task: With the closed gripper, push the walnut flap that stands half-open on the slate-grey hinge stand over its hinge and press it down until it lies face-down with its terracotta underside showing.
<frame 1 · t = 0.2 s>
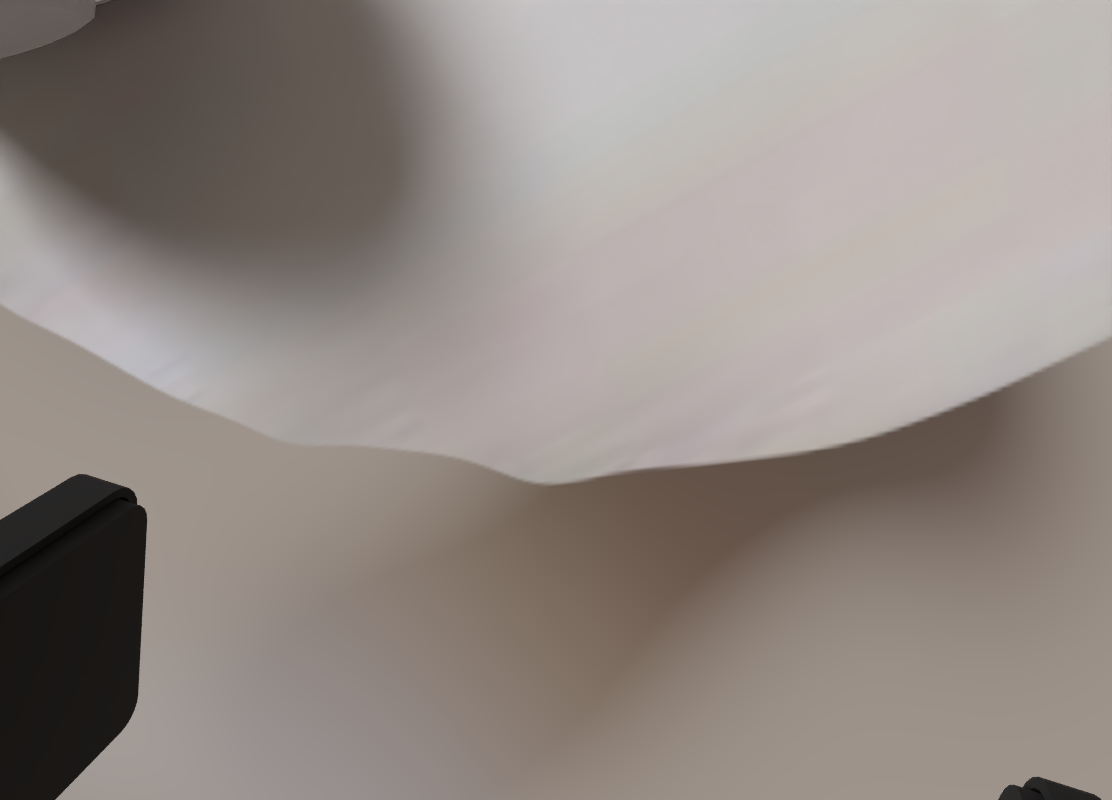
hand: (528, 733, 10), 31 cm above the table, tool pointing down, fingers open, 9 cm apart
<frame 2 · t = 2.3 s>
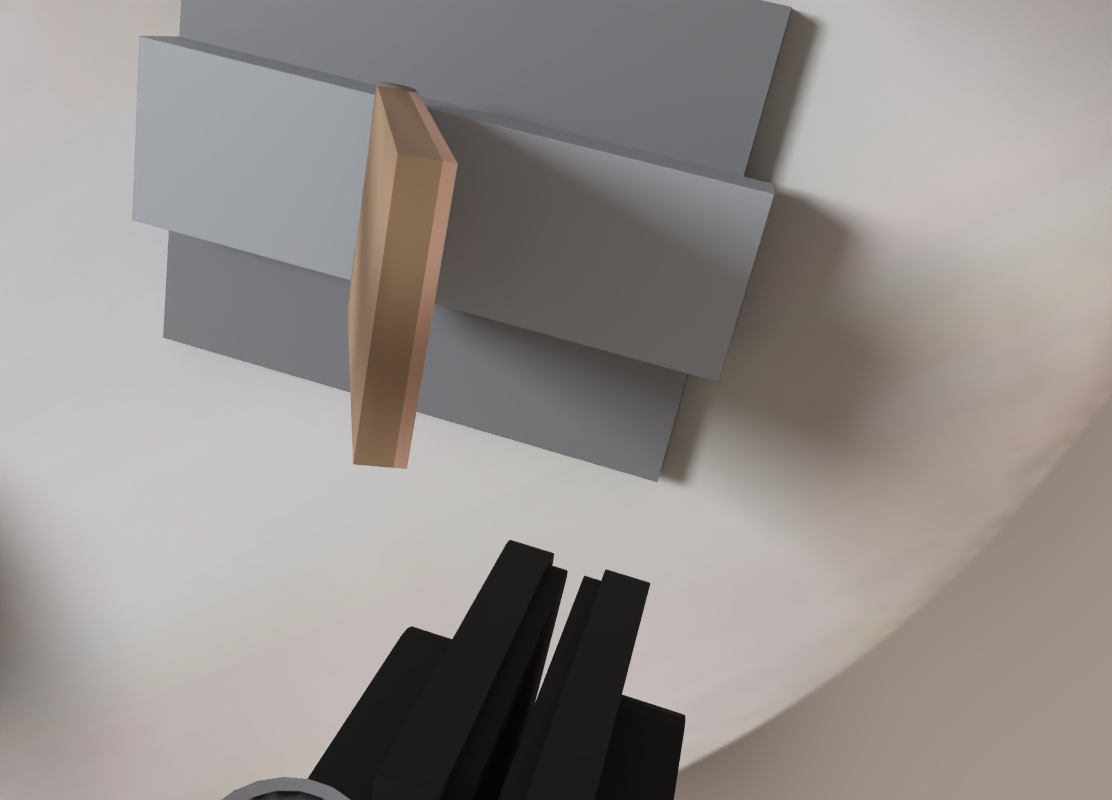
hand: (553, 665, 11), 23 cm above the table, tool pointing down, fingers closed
flap: (389, 248, 25), point 9 cm above the table, hinge at 65.0°
stand: (425, 184, 34), on the table
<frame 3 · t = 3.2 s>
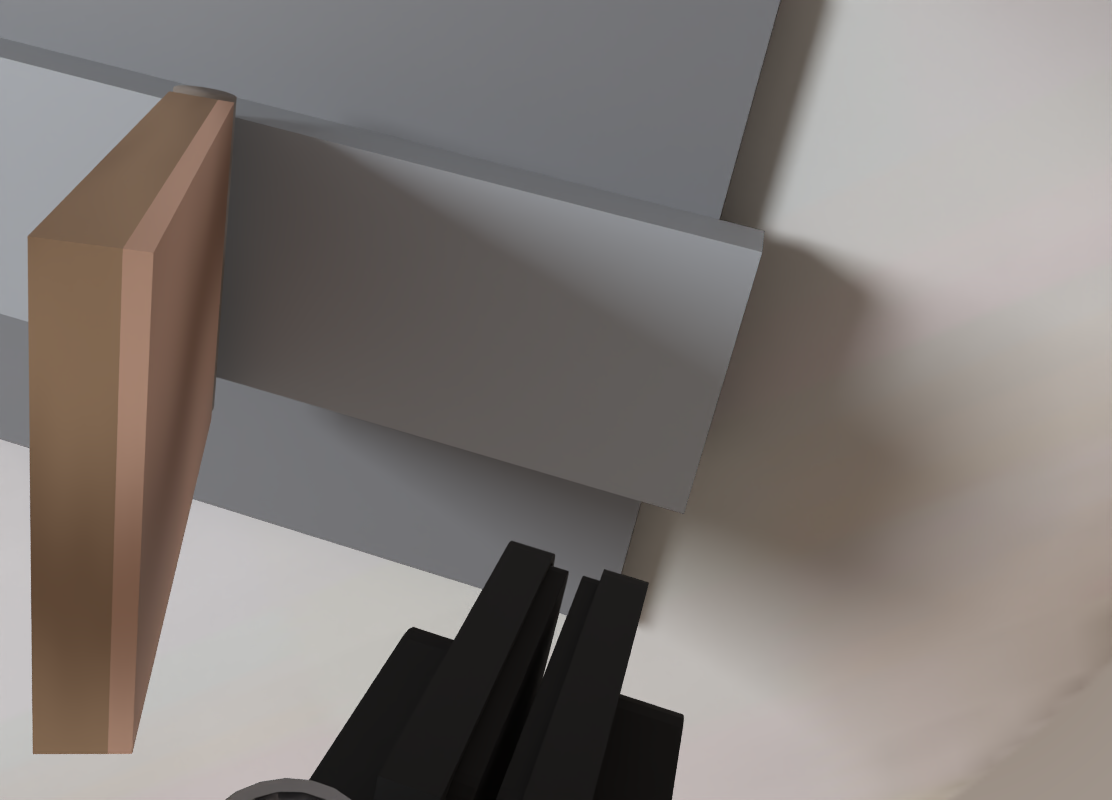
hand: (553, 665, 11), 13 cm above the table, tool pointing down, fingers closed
flap: (159, 348, 16), point 9 cm above the table, hinge at 65.0°
stand: (283, 225, 24), on the table
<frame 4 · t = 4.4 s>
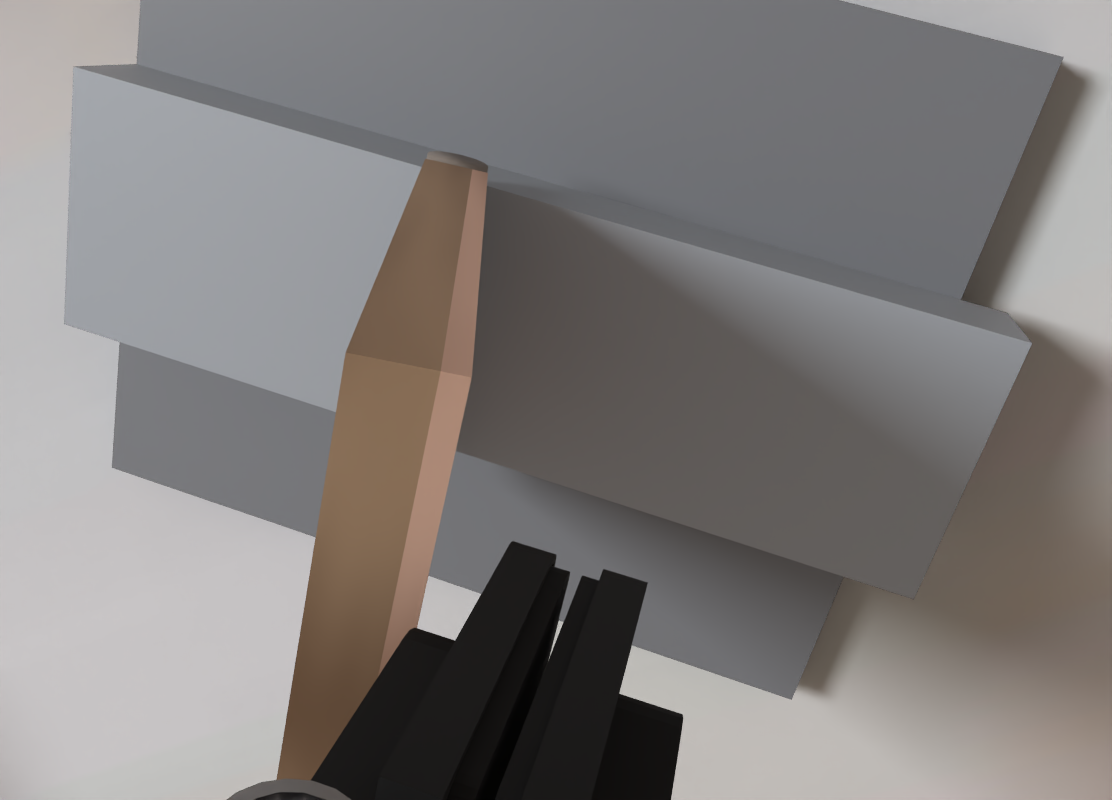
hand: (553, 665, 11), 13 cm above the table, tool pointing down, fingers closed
flap: (402, 430, 16), point 9 cm above the table, hinge at 74.1°, touching gripper
stand: (481, 281, 24), on the table
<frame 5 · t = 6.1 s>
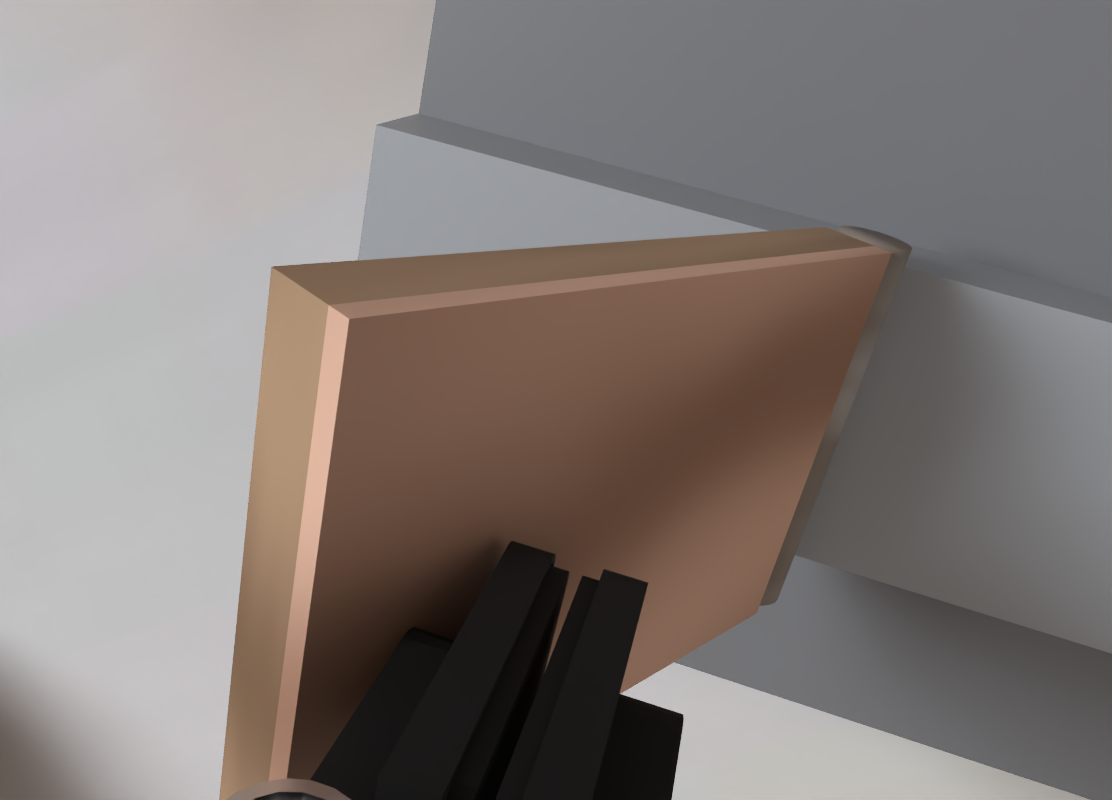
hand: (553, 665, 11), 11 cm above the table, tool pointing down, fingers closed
flap: (627, 490, 14), point 8 cm above the table, hinge at 121.5°, touching gripper
stand: (804, 354, 21), on the table
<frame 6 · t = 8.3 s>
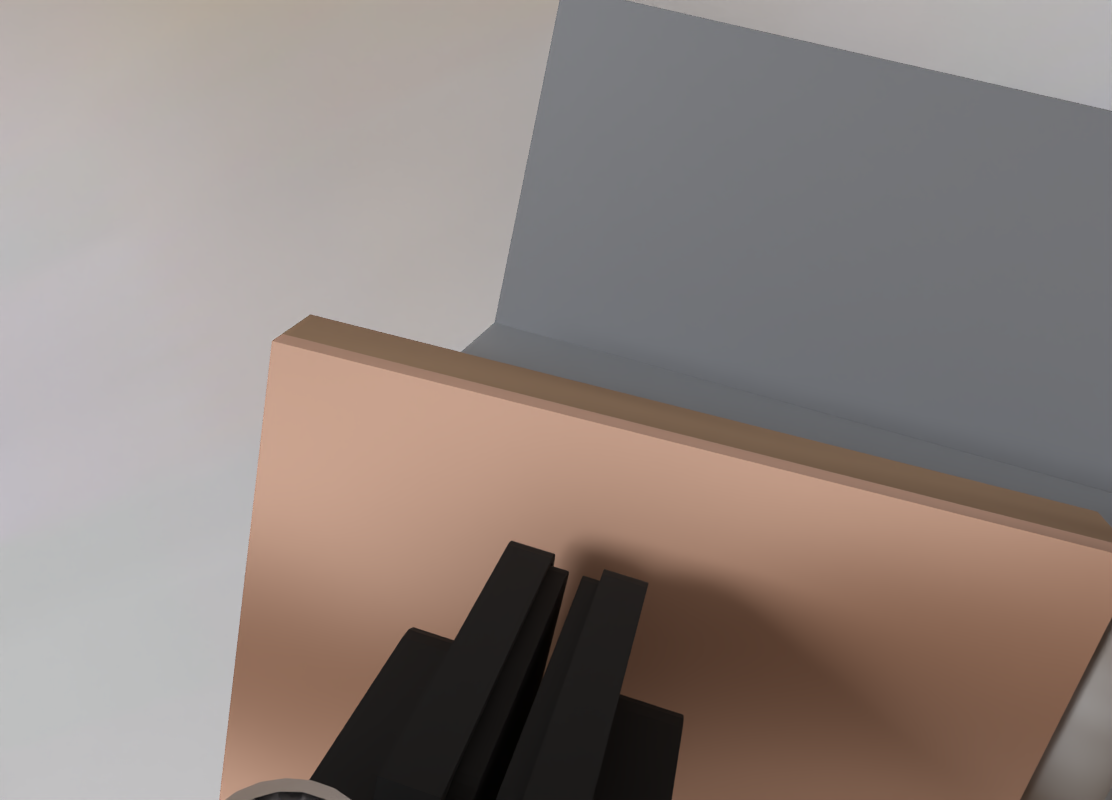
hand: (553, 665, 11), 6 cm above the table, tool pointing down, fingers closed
flap: (670, 680, 13), point 4 cm above the table, hinge at 175.0°
stand: (987, 618, 16), on the table
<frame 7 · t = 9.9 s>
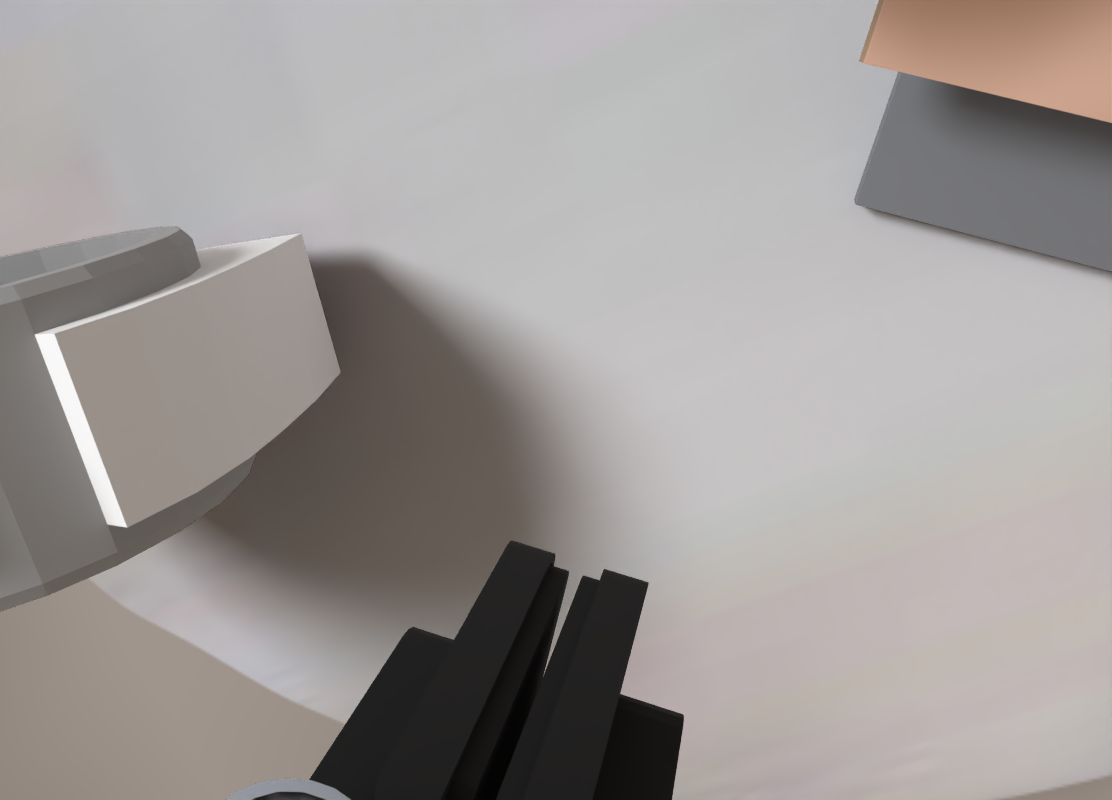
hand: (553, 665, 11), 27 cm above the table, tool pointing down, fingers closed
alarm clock: (186, 314, 42), on the table
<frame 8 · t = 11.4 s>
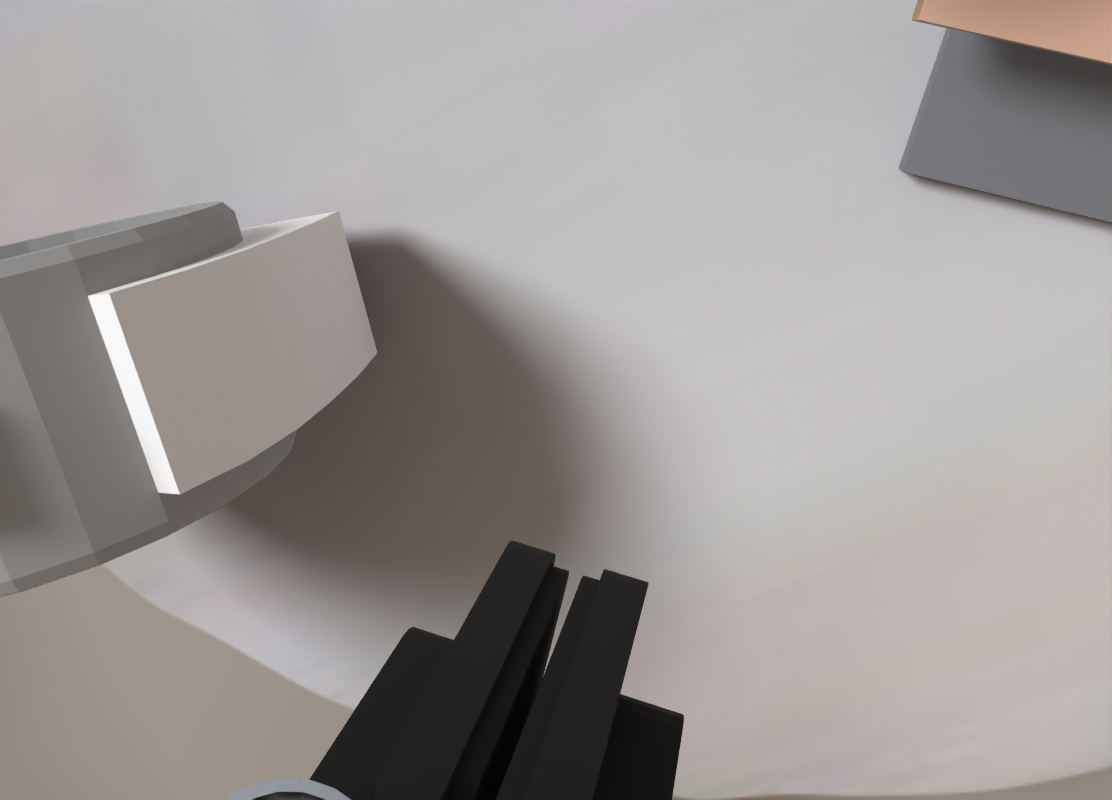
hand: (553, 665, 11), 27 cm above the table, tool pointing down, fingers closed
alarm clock: (217, 300, 42), on the table
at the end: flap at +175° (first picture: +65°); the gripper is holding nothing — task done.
